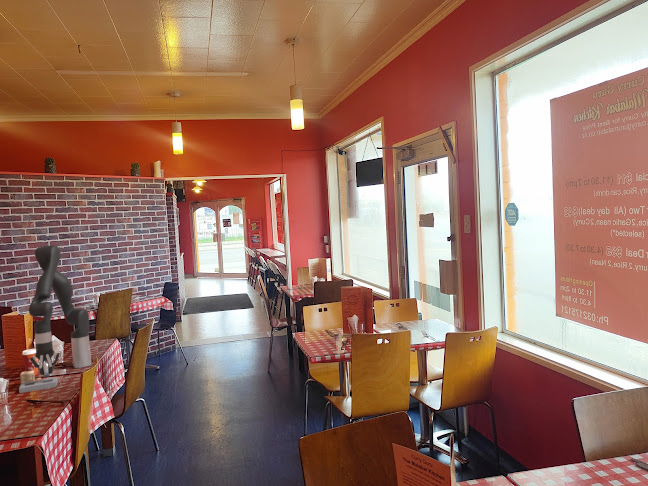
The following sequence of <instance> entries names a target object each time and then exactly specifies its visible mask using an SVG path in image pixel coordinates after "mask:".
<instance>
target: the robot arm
mask: <svg viewBox="0 0 648 486" xmlns="http://www.w3.org/2000/svg"><path fill="white" fill-rule="evenodd" d="M61 256H62V255H61V249H60V248H59V246H58V245H56V244H55V245H54V244H53V245H46V246H40V247H39V246H38V247H37V248H35V250H34V257H35V260H36V262H37V263H38V265H39V267H40V268H41V270H42V271H43V273H42V275H40V277H39V278H38V281H37V282H36V288H35V293H34V296H33V298H32V300H31V302H30V305H29V307H28V313H29V315H30V317H33V318H36V317H43V318H42V319H40V320H38V321H36V322H34V325H33V326H34V342H35V344H34V345H35V349H36V354H35V356H33V357H31V358H30V360H31V362H32V363H33V365H34V366H35V368H38V370H39V374H40V375H41V376H43V365H42V363H43V361H48V363H49V373H50V375H51V374H52V373H53V371H54V368H53V366H56V364H57V362H58V359H59V357H60V354H61V353H60V352H55V350H54V347H53V346H54V345H53V335H52V328H51V319H52V314H53V310H54V306H53V304H52V303H51V302H50V301H45V300H48V299H50V298H51V297H52V296H51V295H52V291H53V293H54V295H55V297H56V298H57V301H58V303H59V305H60V307H61V310H62V313H63V316H64V319H65V320H66V322H67V324H68V325H71V326H77V328H76V330H74V331H72V332H71V333H70V338H71V340H70V341H71V343H70V344H71V351H72V352H71V353H72V362H73V363H72V365H73V368H76V369H78V368H85V367H88V366H89V367H90V366H92V356H91V354H92V353H91V347H90V336H89V333H90V313H89V311H88V310H87V309H85V308H75V307H74V305H73V302H72V298H73V293H74V288H73V286H72V284H71V281H70V279H69V278H68V277H67V276H66V275H65V274H64V273H62V272H61V271H59V270H57V269H58V266H59V263H60V260H61ZM53 356H54V360H53V362H52V357H53ZM36 357H37V358H38V360H39V363H38V364H37V362H36V361H35V359H36Z"/></svg>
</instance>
